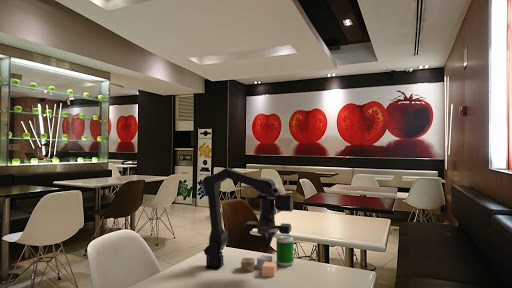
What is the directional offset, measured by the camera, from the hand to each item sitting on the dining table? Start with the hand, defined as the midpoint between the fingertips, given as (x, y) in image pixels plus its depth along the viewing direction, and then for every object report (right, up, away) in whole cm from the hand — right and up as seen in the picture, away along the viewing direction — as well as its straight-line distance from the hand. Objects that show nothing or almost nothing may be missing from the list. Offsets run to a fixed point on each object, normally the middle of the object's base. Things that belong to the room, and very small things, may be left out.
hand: (268, 248), depth 125 cm
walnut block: (-8, -10, +4) cm, 14 cm away
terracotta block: (+1, -10, -1) cm, 10 cm away
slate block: (-1, -10, +7) cm, 13 cm away
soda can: (+8, -10, +10) cm, 16 cm away
